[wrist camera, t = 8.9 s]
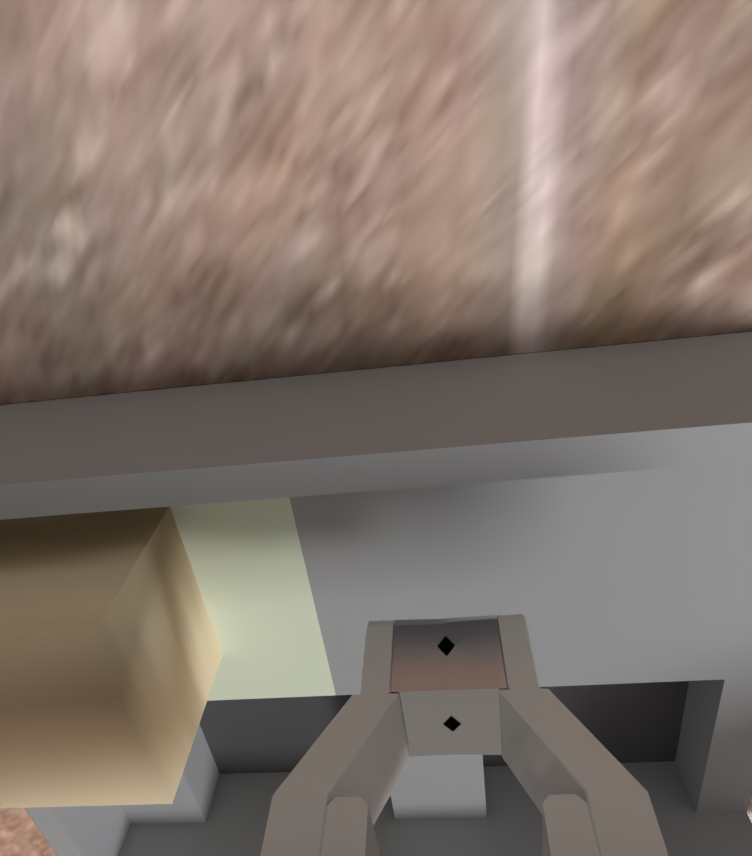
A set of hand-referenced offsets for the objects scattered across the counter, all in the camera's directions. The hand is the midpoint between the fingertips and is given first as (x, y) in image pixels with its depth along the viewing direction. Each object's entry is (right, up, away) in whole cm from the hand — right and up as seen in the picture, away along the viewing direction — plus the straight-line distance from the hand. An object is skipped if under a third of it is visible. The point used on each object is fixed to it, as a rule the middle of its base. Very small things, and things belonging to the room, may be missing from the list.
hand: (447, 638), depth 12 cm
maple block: (-8, 0, +4) cm, 9 cm away
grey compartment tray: (-1, -2, +7) cm, 7 cm away
